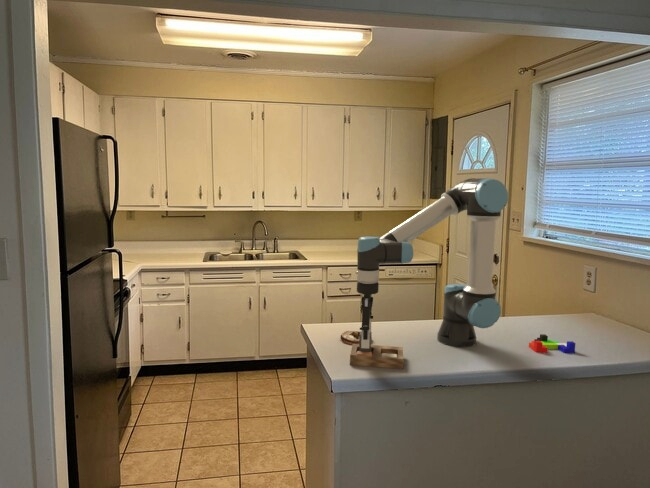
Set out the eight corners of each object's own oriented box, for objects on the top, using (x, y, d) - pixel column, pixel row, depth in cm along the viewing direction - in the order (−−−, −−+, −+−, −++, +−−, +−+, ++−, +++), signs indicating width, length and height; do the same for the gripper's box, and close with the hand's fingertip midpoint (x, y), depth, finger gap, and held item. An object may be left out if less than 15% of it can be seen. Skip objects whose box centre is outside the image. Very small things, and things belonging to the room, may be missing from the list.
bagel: (341, 333, 202) (342, 323, 202) (377, 337, 198) (377, 327, 198) (332, 344, 188) (333, 334, 188) (370, 349, 184) (371, 338, 184)
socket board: (402, 356, 176) (402, 345, 176) (402, 368, 164) (403, 357, 164) (352, 352, 178) (353, 342, 178) (349, 364, 167) (350, 353, 166)
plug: (370, 353, 173) (371, 326, 172) (370, 357, 169) (371, 330, 168) (359, 353, 174) (360, 325, 173) (358, 357, 170) (359, 329, 169)
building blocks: (557, 343, 198) (558, 332, 198) (574, 354, 185) (575, 343, 185) (521, 342, 197) (522, 332, 197) (536, 353, 185) (537, 342, 184)
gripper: (359, 274, 181) (358, 331, 184) (354, 288, 157) (352, 353, 160) (379, 275, 180) (378, 332, 183) (377, 289, 156) (375, 354, 159)
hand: (366, 342), depth 172 cm, fingers open, 11 cm apart
